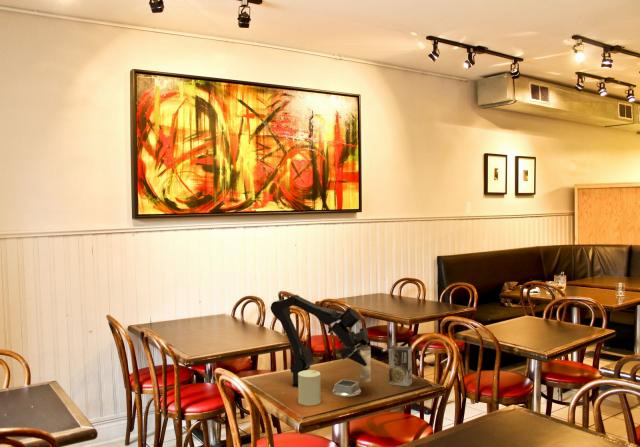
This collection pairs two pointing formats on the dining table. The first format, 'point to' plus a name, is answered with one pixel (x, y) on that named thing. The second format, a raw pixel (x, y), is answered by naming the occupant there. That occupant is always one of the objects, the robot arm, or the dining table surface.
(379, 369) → the dining table surface
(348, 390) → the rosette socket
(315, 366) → the dining table surface
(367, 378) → the cream tall cylinder
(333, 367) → the dining table surface
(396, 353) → the coffee box
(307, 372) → the can
